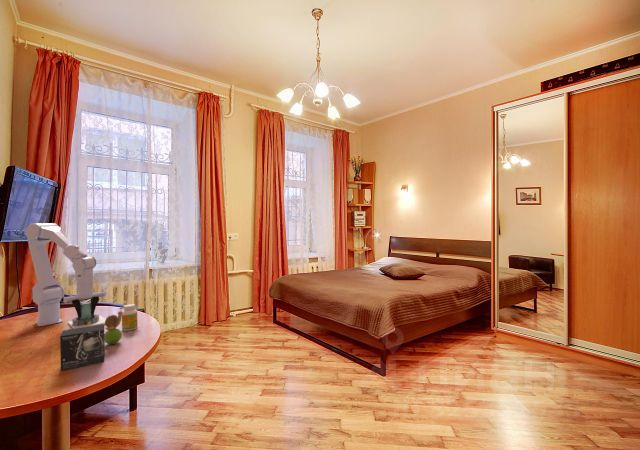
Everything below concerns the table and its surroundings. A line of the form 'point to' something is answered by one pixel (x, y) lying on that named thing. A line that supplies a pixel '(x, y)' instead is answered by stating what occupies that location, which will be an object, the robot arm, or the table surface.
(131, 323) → the supplement bottle
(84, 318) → the teal peg
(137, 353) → the table surface
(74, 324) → the collar plate
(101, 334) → the box
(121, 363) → the table surface
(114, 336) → the snail figurine
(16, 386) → the table surface
